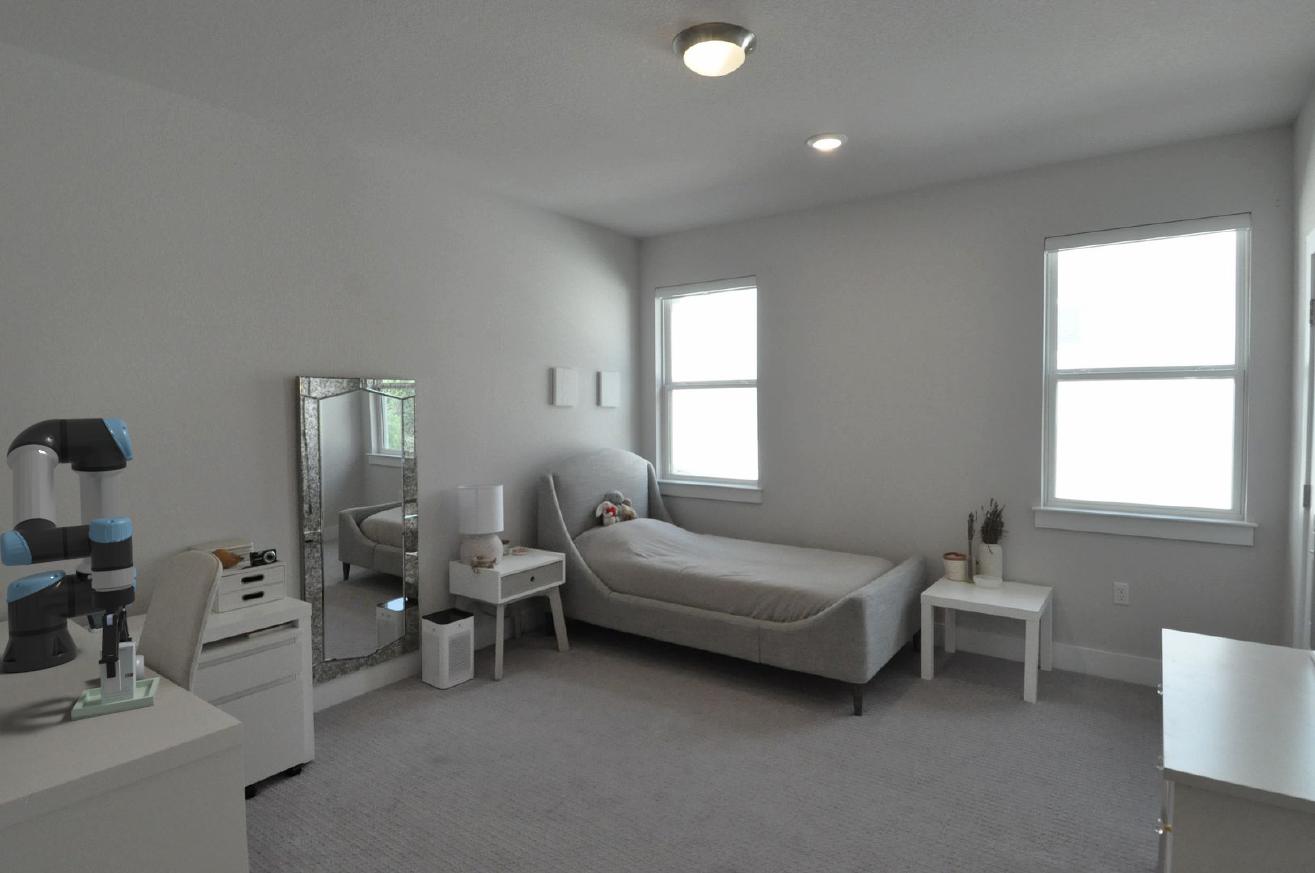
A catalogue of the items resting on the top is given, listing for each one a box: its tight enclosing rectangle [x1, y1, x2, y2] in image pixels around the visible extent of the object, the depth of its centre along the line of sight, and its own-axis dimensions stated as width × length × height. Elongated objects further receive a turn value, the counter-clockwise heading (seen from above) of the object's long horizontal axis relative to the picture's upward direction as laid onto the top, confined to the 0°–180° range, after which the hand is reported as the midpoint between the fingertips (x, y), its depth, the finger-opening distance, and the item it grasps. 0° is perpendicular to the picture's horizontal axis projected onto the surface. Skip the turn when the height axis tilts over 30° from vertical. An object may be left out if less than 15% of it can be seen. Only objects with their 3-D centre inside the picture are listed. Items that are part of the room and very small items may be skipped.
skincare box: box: [99, 640, 137, 704], centre depth 156 cm, size 6×4×12 cm
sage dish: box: [70, 676, 161, 722], centre depth 156 cm, size 14×14×2 cm
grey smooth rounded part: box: [136, 654, 146, 681], centre depth 168 cm, size 5×5×6 cm
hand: (117, 681), depth 156 cm, fingers open, 13 cm apart
